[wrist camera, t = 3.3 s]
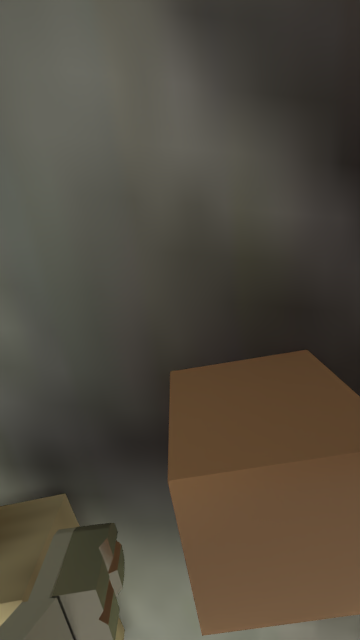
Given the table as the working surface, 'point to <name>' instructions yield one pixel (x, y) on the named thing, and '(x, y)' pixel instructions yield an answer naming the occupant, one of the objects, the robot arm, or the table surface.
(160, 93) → the table surface
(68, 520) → the beech block
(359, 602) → the terracotta cube
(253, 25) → the table surface
